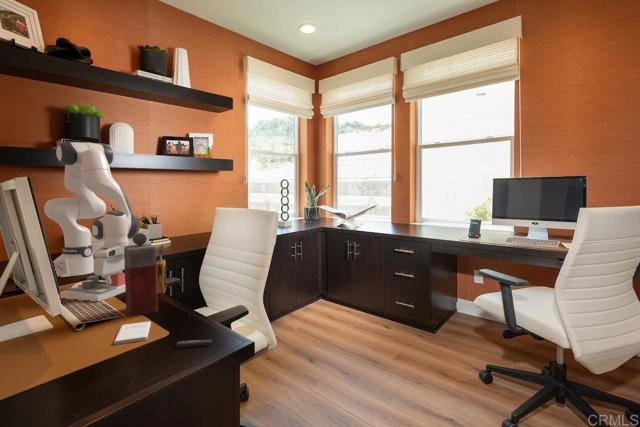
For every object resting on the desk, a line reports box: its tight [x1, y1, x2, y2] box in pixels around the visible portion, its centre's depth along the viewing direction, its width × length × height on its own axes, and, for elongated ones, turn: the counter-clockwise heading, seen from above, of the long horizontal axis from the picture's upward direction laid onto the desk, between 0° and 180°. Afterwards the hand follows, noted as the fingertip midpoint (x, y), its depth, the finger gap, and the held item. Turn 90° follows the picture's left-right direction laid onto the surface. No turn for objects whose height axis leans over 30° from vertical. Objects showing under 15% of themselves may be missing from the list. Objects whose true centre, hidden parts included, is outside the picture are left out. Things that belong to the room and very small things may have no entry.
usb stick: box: [175, 339, 213, 349], centre depth 93 cm, size 10×3×2 cm, turn 99°
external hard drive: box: [113, 321, 152, 345], centre depth 100 cm, size 2×8×12 cm
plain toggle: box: [85, 275, 100, 284], centre depth 143 cm, size 3×3×4 cm
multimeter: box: [156, 245, 167, 298], centre depth 140 cm, size 15×10×20 cm
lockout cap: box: [109, 272, 125, 287], centre depth 143 cm, size 5×5×5 cm
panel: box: [59, 279, 126, 302], centre depth 139 cm, size 18×18×4 cm
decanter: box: [124, 232, 159, 317], centre depth 120 cm, size 9×11×28 cm
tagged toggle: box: [81, 280, 95, 289], centre depth 135 cm, size 3×3×4 cm
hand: (118, 281), depth 143 cm, fingers open, 7 cm apart
